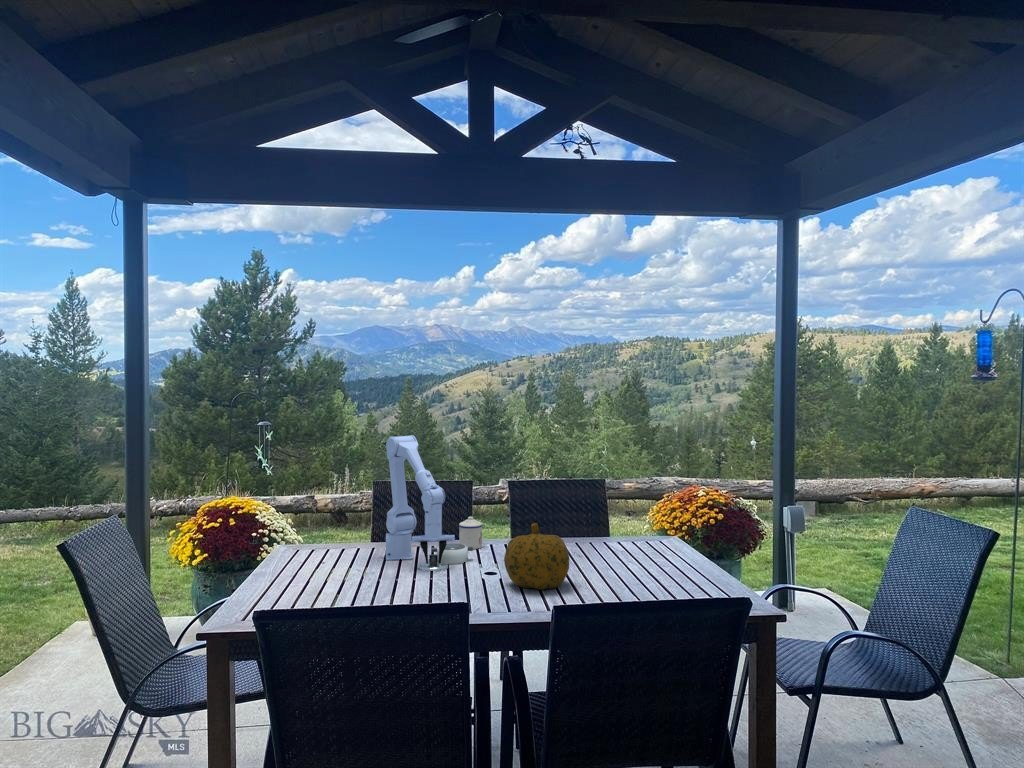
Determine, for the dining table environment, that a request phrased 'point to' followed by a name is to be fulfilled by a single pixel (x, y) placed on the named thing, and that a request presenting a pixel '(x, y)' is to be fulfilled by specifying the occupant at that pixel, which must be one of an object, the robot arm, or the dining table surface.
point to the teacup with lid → (470, 533)
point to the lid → (433, 564)
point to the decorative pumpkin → (537, 560)
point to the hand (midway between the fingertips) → (433, 563)
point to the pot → (454, 553)
